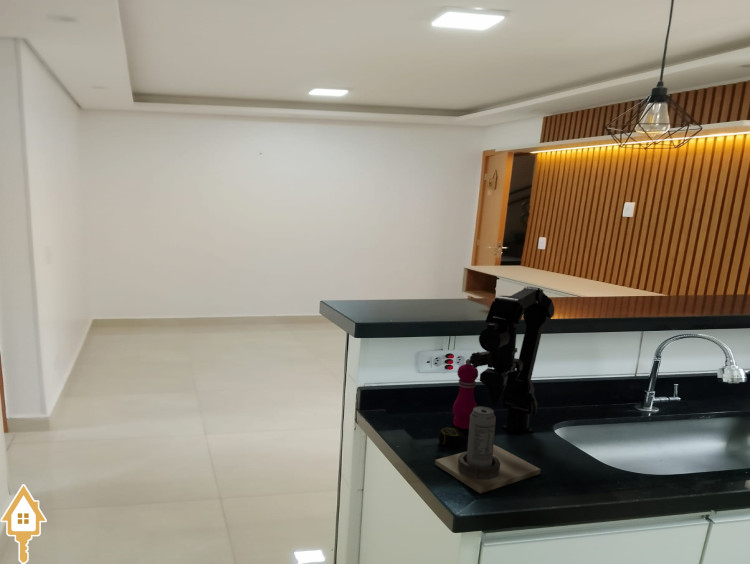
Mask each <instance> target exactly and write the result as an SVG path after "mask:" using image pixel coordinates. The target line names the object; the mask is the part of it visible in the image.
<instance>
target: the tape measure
mask: <svg viewBox="0 0 750 564" xmlns="http://www.w3.org/2000/svg"><path fill="white" fill-rule="evenodd" d="M438 441H439V443H440V444H441V445H443V446H445V447H448V448H458V447H464V446H466V445H468V437H467V435H465V434H464V433H463V432H462V431H460V430H459V429H458V427H443V428H441V429H440V430H439V432H438Z"/></svg>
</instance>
